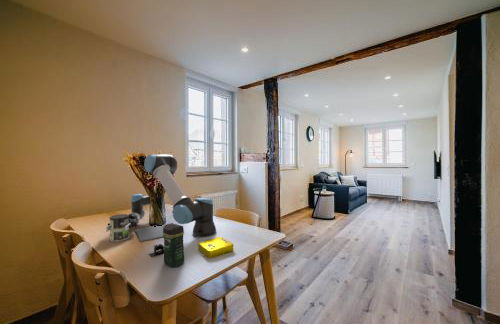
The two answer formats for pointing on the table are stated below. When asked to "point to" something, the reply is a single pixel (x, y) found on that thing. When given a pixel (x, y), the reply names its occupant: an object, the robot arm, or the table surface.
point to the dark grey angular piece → (156, 248)
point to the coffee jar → (173, 245)
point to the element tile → (215, 247)
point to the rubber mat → (150, 233)
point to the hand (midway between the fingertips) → (116, 228)
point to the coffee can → (119, 227)
